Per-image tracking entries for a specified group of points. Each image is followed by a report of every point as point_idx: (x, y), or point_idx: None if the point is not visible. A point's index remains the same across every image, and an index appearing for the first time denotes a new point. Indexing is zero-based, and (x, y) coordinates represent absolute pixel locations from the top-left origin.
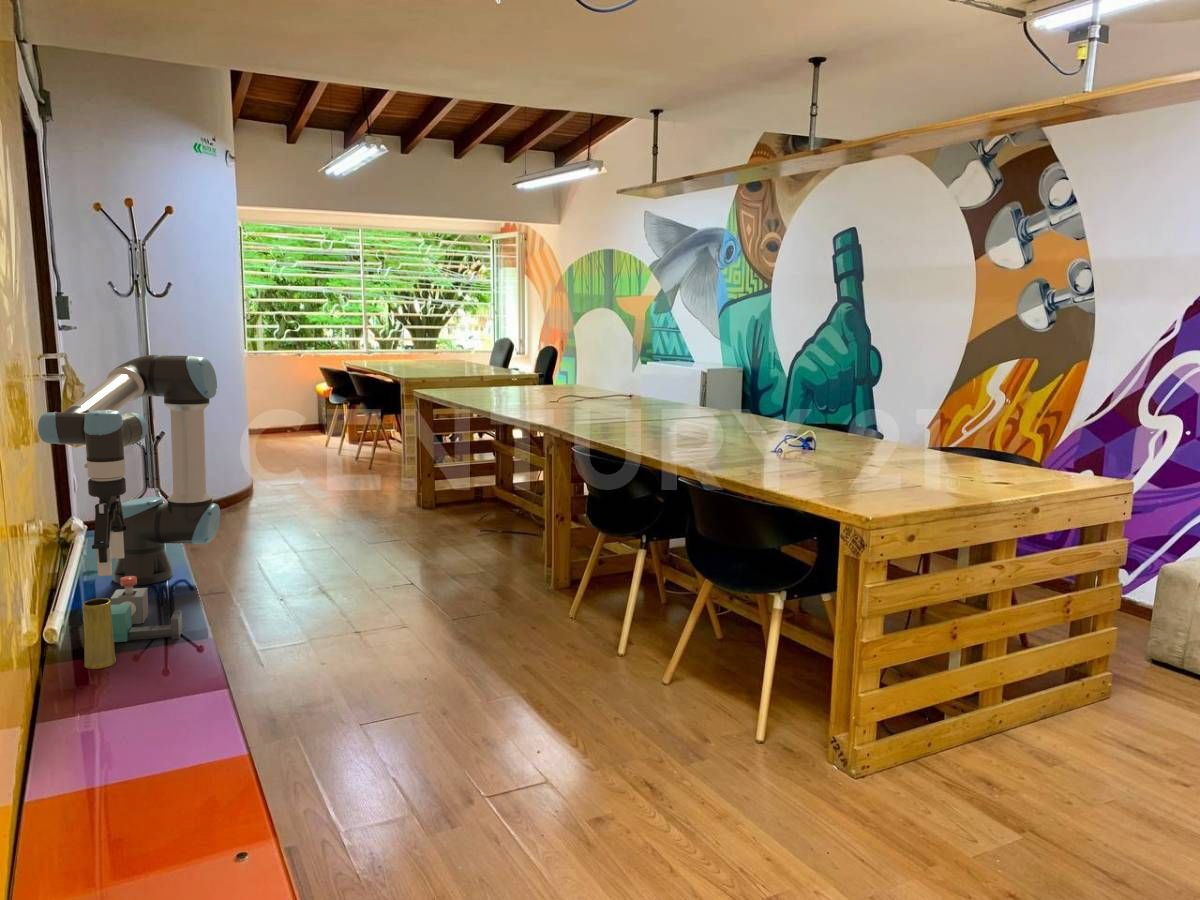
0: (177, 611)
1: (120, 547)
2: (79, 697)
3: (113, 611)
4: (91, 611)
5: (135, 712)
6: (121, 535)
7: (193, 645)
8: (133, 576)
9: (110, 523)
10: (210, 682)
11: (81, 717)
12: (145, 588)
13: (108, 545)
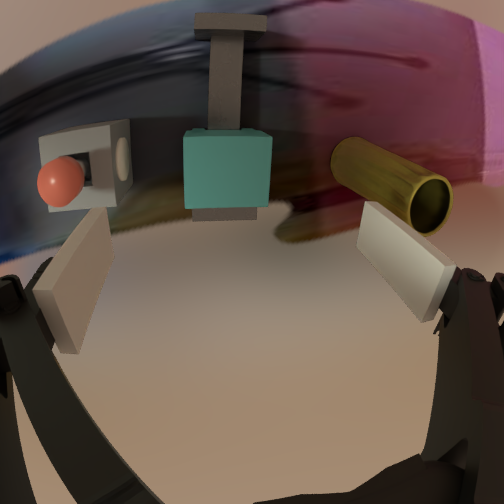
0: (204, 20)
1: (90, 245)
2: (449, 176)
3: (246, 170)
4: (440, 209)
5: (495, 116)
6: (62, 280)
7: (307, 4)
8: (42, 174)
9: (500, 383)
10: (456, 21)
11: (486, 169)
12: (42, 140)
13: (480, 275)
